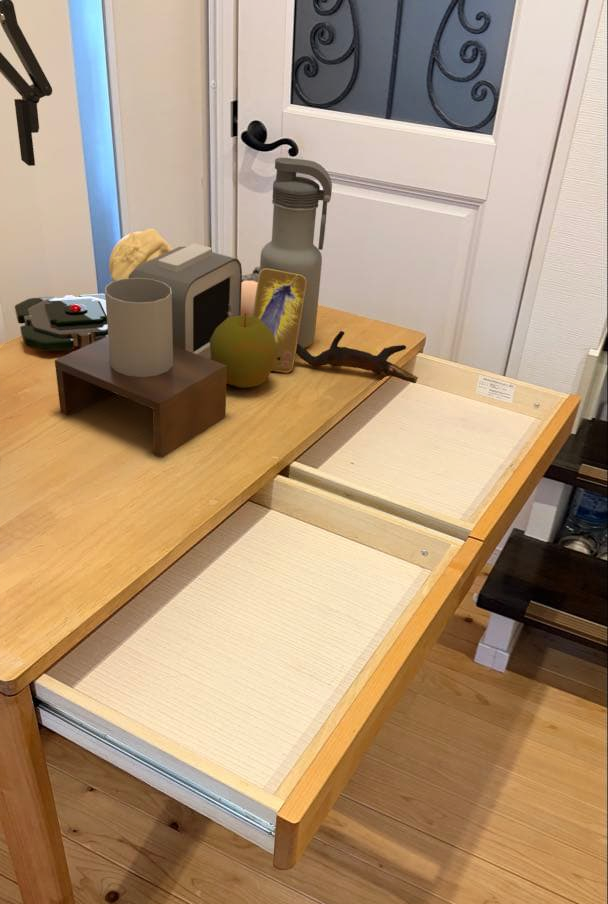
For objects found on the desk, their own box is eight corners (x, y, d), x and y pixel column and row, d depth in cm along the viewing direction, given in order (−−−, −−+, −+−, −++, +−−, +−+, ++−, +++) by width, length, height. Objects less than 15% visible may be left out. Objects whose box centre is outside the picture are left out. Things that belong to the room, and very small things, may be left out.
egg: (266, 280, 144) (284, 315, 142) (238, 303, 147) (255, 338, 144) (246, 266, 138) (265, 302, 136) (217, 290, 141) (235, 326, 138)
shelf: (161, 457, 107) (159, 403, 102) (60, 413, 113) (54, 360, 109) (225, 416, 116) (226, 365, 111) (129, 378, 123) (126, 327, 118)
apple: (196, 380, 124) (196, 310, 117) (241, 362, 130) (244, 295, 123) (243, 404, 119) (245, 333, 112) (288, 384, 125) (293, 316, 118)
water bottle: (318, 330, 142) (335, 157, 125) (314, 355, 134) (332, 174, 117) (259, 324, 142) (268, 150, 125) (253, 348, 134) (261, 166, 117)
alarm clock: (184, 377, 124) (183, 276, 115) (123, 357, 128) (117, 258, 118) (239, 340, 136) (242, 246, 127) (182, 323, 140) (181, 230, 130)
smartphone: (259, 266, 125) (259, 267, 126) (244, 365, 127) (244, 366, 128) (308, 275, 126) (307, 276, 127) (292, 374, 128) (292, 374, 129)
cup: (110, 348, 112) (105, 277, 106) (170, 348, 114) (169, 278, 108) (110, 377, 106) (105, 303, 100) (174, 376, 108) (173, 303, 101)
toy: (428, 348, 127) (422, 370, 124) (415, 380, 133) (409, 402, 131) (290, 301, 127) (281, 322, 125) (283, 336, 134) (274, 357, 131)
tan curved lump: (157, 320, 144) (116, 281, 135) (124, 298, 151) (84, 259, 142) (198, 269, 143) (160, 227, 135) (164, 250, 151) (125, 208, 142)
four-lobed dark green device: (121, 306, 144) (119, 280, 141) (144, 350, 131) (143, 323, 128) (14, 313, 138) (10, 286, 135) (27, 360, 125) (23, 332, 122)
